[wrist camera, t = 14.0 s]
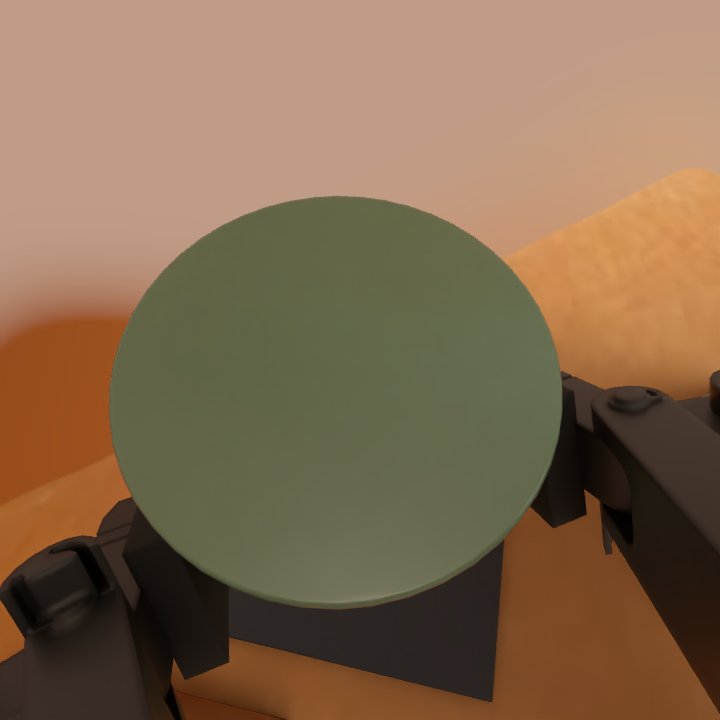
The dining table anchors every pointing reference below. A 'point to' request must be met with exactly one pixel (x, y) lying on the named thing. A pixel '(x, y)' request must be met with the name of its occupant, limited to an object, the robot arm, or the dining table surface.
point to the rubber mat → (394, 631)
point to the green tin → (335, 402)
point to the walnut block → (215, 710)
